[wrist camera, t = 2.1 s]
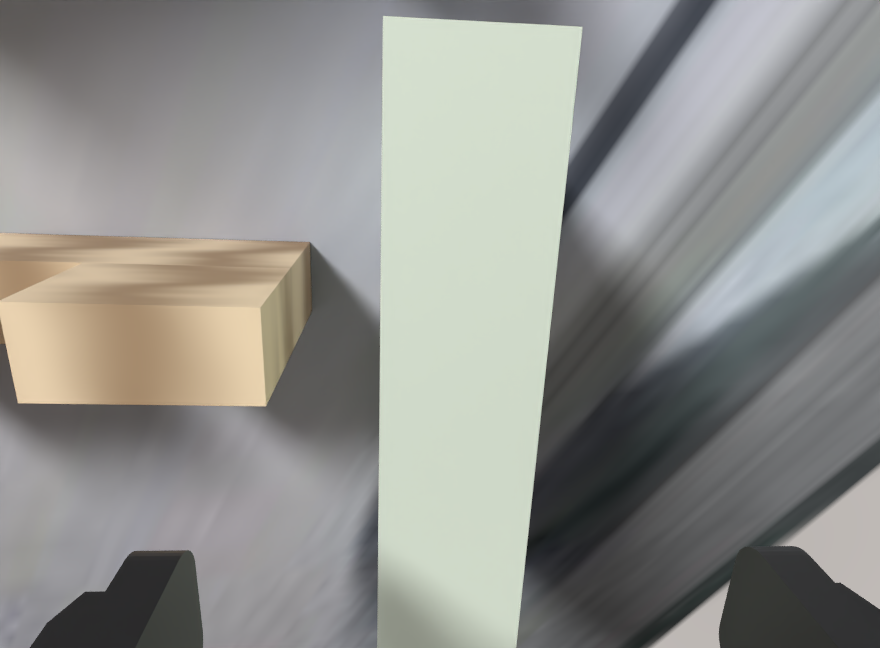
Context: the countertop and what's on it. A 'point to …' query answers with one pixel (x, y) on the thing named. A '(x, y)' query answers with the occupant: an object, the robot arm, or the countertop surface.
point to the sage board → (465, 315)
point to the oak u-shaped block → (150, 318)
